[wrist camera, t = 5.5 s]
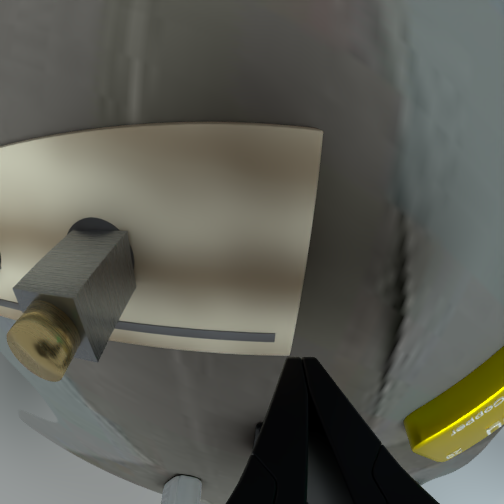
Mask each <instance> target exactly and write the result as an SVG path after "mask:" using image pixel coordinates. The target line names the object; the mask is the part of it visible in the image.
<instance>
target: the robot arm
mask: <svg viewBox="0 0 504 504" xmlns="http://www.w3.org/2000/svg"><path fill="white" fill-rule="evenodd" d="M381 444H382V443H381V441H380V440H379V439H378V438H377V436H376V435H375V434H374V432H373V431H372V430H371V429H370V427H369V426H368V425H367V423H366V422H365V421H364V420H363V418H362V417H361V416H360V414H359V413H358V412H357V411H356V409H355V408H354V407H353V405H352V404H351V403H350V402H349V400H348V399H347V398H346V396H345V395H344V394H343V392H342V391H341V390H340V389H339V387H338V386H337V385H336V383H335V382H334V381H333V379H332V378H331V377H330V376H329V374H328V373H327V372H326V370H325V369H324V368H323V366H322V365H321V364H320V362H319V361H318V360H317V359H316V358H315V357H302V358H300V357H287V358H286V360H285V363H284V366H283V369H282V372H281V375H280V378H279V381H278V384H277V387H276V389H275V392H274V395H273V398H272V401H271V403H270V406H269V409H268V412H267V414H266V417H265V420H264V422H263V424H258V425H257V426H256V431H255V438H254V445H253V451H252V455H250V458H249V460H248V463H247V465H246V467H245V470H244V472H243V474H242V476H241V478H240V480H239V482H238V484H237V486H236V488H235V489H234V491H233V493H232V494H231V496H230V498H229V499H228V501H227V502H226V504H440V503H438V502H437V501H436V500H435V499H434V498H433V497H432V496H431V495H430V494H428V493H427V492H426V491H425V490H424V489H423V488H422V487H421V486H420V485H419V484H418V483H417V482H416V481H415V480H414V479H413V478H412V477H411V476H410V475H409V474H408V473H407V472H406V471H405V470H404V469H403V468H402V467H401V466H400V465H399V464H398V462H397V461H396V460H395V459H394V458H393V456H392V455H391V454H390V453H389V452H388V450H387V449H386V448H385V446H384V445H381Z"/></svg>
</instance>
